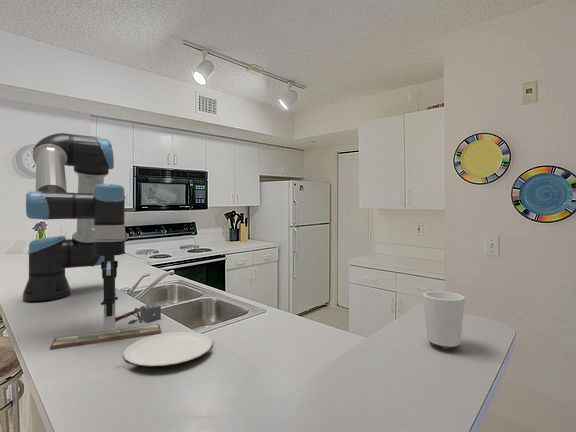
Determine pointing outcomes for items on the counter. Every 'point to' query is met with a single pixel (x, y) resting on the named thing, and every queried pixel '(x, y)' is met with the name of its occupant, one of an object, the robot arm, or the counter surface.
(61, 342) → the board
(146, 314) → the die
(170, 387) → the counter surface
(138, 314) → the lantern lamp post
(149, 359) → the plate
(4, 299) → the counter surface
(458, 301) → the cup
